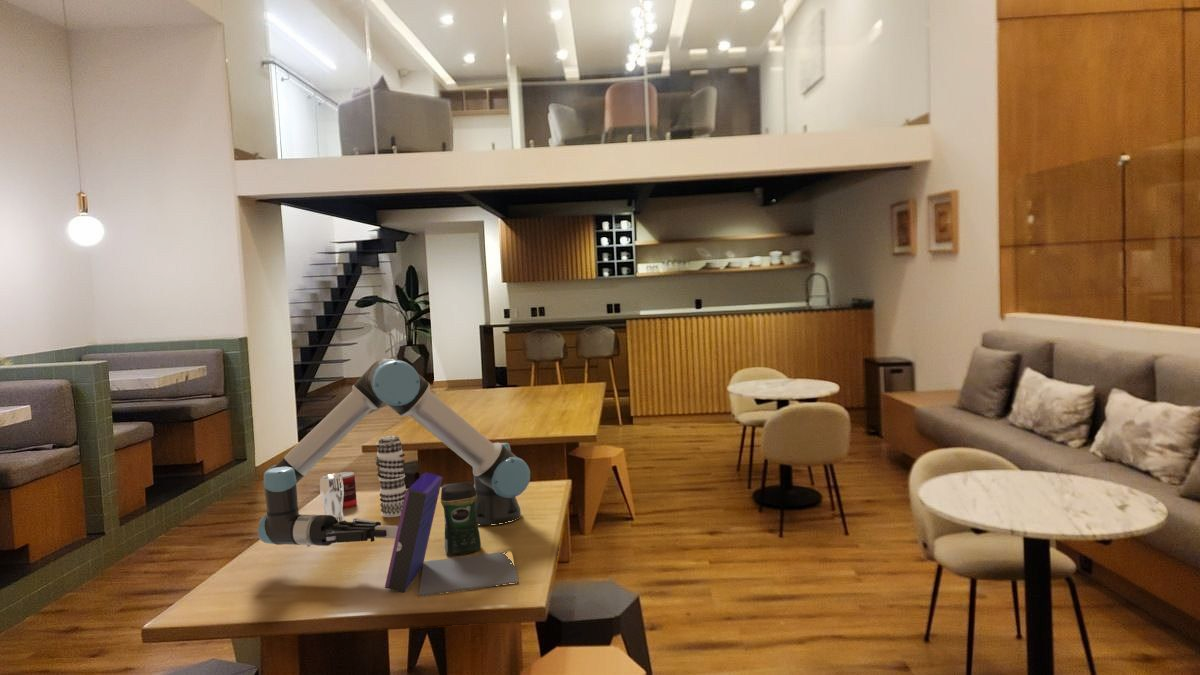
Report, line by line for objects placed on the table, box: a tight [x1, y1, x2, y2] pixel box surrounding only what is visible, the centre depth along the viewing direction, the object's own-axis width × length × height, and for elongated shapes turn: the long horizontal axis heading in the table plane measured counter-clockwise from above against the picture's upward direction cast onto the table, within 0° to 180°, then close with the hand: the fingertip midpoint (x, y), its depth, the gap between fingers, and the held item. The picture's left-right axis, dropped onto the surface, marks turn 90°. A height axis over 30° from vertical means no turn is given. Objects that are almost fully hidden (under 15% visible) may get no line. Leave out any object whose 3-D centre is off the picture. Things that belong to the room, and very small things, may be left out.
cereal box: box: [384, 472, 443, 593], centre depth 184 cm, size 17×5×24 cm, turn 179°
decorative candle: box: [375, 435, 407, 518], centre depth 243 cm, size 9×9×25 cm
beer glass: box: [319, 473, 346, 522], centre depth 236 cm, size 7×7×15 cm
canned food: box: [335, 471, 358, 510], centre depth 256 cm, size 8×8×11 cm
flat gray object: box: [417, 551, 519, 597], centre depth 186 cm, size 23×22×1 cm
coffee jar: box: [440, 480, 482, 556], centre depth 203 cm, size 10×8×19 cm
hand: (400, 532), depth 184 cm, fingers closed
